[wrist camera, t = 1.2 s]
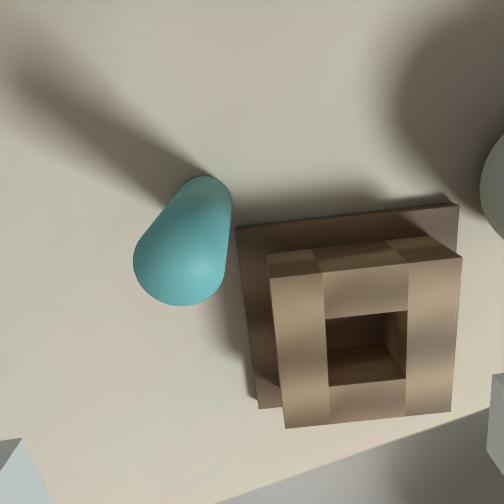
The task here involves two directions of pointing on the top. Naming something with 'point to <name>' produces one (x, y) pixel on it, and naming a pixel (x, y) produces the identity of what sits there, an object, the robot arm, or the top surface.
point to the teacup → (494, 187)
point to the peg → (186, 244)
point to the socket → (353, 313)
